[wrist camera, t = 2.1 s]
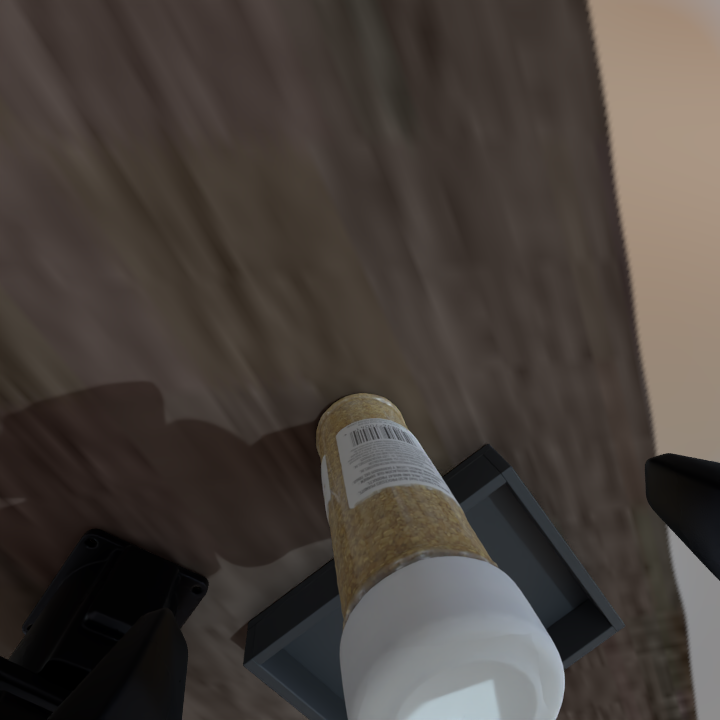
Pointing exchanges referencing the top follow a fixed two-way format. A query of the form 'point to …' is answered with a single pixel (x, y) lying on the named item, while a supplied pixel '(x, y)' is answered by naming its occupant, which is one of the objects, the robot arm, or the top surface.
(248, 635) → the tray
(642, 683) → the top surface
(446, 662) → the sprinkles bottle
